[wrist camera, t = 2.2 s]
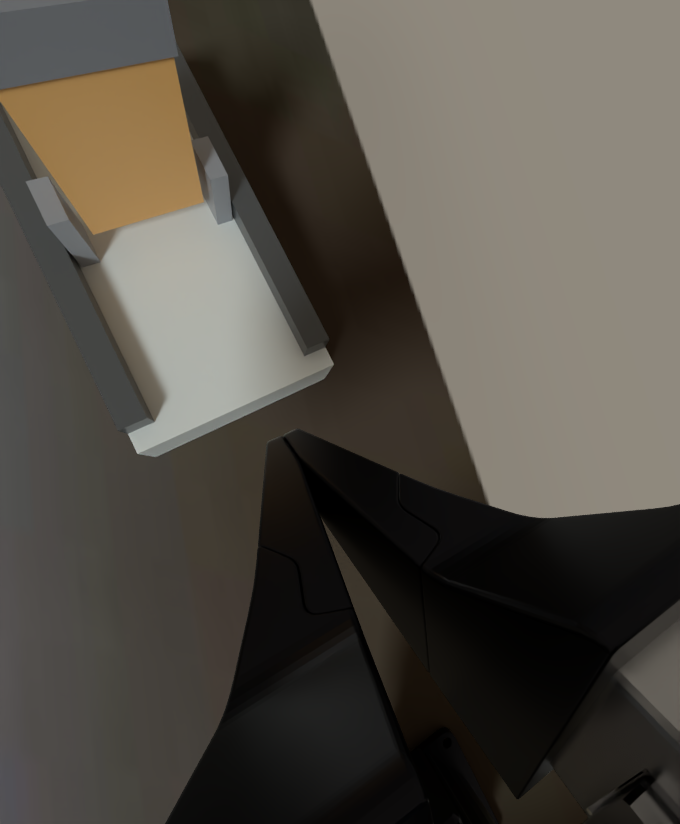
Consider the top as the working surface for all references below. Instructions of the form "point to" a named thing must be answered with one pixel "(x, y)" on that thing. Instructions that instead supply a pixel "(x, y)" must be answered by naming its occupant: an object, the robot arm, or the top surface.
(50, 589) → the top surface
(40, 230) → the tray
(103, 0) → the lever
